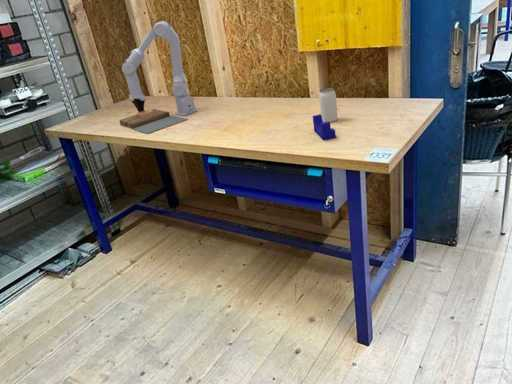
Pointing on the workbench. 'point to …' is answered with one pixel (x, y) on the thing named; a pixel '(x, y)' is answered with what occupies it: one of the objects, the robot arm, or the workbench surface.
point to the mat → (159, 124)
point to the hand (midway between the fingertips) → (141, 113)
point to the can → (328, 105)
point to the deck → (143, 119)
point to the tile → (145, 113)
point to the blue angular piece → (323, 128)
